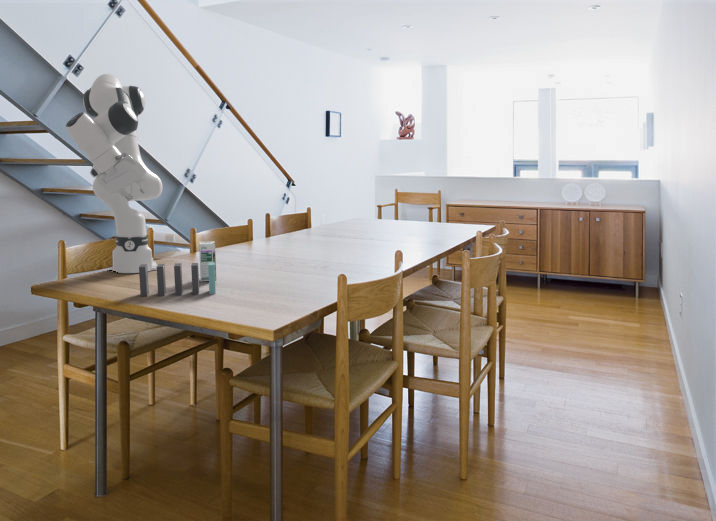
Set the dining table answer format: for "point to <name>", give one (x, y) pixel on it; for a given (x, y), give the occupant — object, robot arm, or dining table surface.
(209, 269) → the domino
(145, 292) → the domino
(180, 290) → the domino
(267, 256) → the dining table surface
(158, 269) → the domino
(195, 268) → the domino
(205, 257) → the syrup box
